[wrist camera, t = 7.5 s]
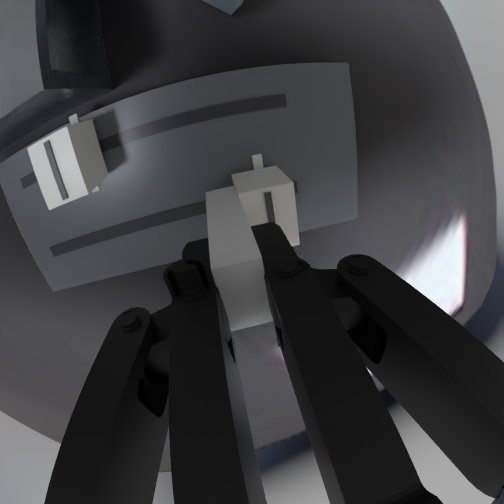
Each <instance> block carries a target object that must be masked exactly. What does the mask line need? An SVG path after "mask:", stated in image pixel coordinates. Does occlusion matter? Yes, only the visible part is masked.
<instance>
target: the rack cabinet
mask: <svg viewBox="0 0 504 504" xmlns="http://www.w3.org/2000/svg"><path fill="white" fill-rule="evenodd" d="M112 90H114V88H113V83H112V78H111V74H110V69H109V63H108V58H107V52H106V47H105V41H104V34H103V28H102V20H101V12H100V4H99V0H0V151H1V150H3V149H4V148H6V147H7V146H8V145H10V144H11V143H13V142H14V141H16V140H17V139H19V138H20V137H22V136H23V135H25V134H27V133H28V132H30V131H31V130H33V129H35V128H36V127H38V126H40V125H41V124H43V123H45V122H47V121H48V120H50V119H52V118H54V117H56V116H58V115H59V114H61V113H63V112H65V111H67V110H69V109H71V108H73V107H75V106H77V105H79V104H82V103H84V102H86V101H88V100H90V99H93V98H95V97H97V96H100V95H102V94H104V93H107V92H109V91H112Z"/></svg>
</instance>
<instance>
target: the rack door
mask: <svg viewBox="0 0 504 504" xmlns="http://www.w3.org/2000/svg"><path fill="white" fill-rule="evenodd" d="M202 1H204V2H206V3H208V4H210V5H212V6H214V7H216V8H218V9H220V10H222V11H223V12H225V13H227V14H229V15H232V14H233V13H234V12H235V11H236V10H237V9H238V8H239V6H240V5H241V4H242V3H243V1H244V0H202Z"/></svg>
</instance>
